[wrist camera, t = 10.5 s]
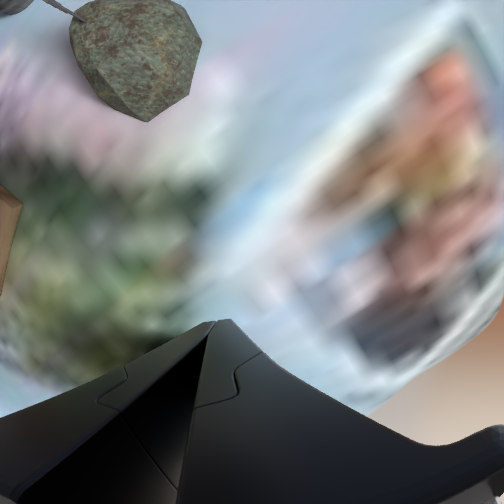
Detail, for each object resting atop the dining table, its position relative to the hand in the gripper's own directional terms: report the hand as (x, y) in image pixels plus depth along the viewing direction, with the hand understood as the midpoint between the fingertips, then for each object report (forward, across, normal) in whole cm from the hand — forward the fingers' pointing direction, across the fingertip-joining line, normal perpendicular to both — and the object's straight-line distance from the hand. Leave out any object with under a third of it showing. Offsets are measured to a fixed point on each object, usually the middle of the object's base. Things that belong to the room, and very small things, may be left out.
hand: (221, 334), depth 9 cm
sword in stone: (+12, -4, +13) cm, 18 cm away
